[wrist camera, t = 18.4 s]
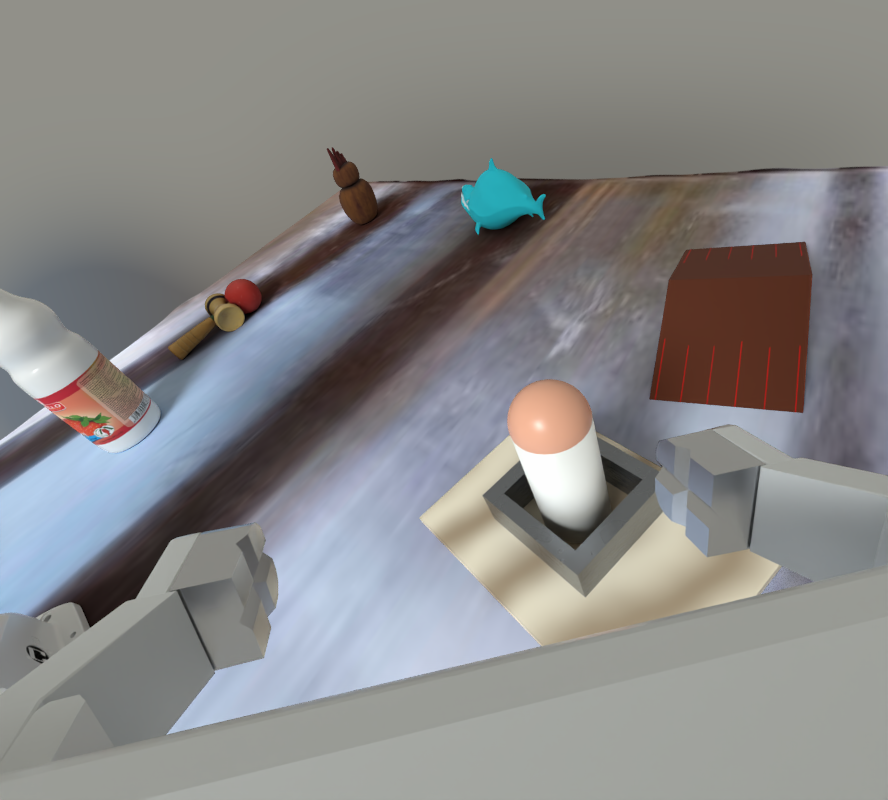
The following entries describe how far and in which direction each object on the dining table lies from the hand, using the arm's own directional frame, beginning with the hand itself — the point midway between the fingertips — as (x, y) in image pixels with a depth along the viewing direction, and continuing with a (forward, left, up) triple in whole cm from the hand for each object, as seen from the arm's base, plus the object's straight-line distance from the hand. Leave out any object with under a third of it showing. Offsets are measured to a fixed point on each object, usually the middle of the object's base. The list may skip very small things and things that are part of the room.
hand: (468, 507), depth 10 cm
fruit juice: (-70, -20, -27) cm, 78 cm away
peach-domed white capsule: (-11, +10, -26) cm, 30 cm away
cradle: (-11, +10, -26) cm, 30 cm away
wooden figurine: (-87, +35, -27) cm, 98 cm away
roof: (-14, +37, -28) cm, 48 cm away
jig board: (-10, +9, -27) cm, 30 cm away
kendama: (-82, 0, -27) cm, 87 cm away
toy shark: (-52, +42, -27) cm, 73 cm away
